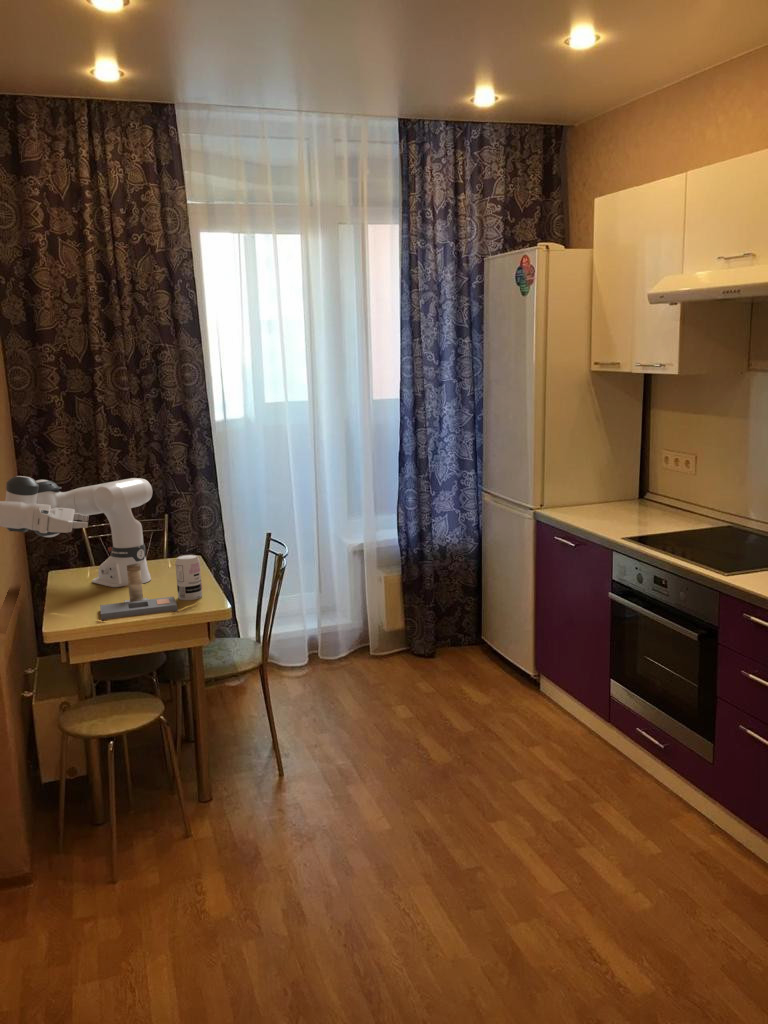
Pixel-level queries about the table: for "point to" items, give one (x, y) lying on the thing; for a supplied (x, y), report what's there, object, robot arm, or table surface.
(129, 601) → the pad
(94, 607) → the table surface
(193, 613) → the table surface
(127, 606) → the socket board
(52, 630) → the table surface
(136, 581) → the maple peg
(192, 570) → the supplement can
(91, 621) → the table surface
